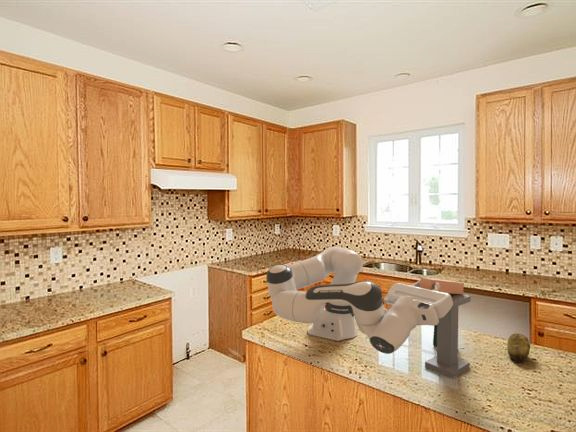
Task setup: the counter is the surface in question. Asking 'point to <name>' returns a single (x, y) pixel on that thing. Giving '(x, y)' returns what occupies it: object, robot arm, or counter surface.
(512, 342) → the potato
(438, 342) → the stand
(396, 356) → the counter surface
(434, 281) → the block
